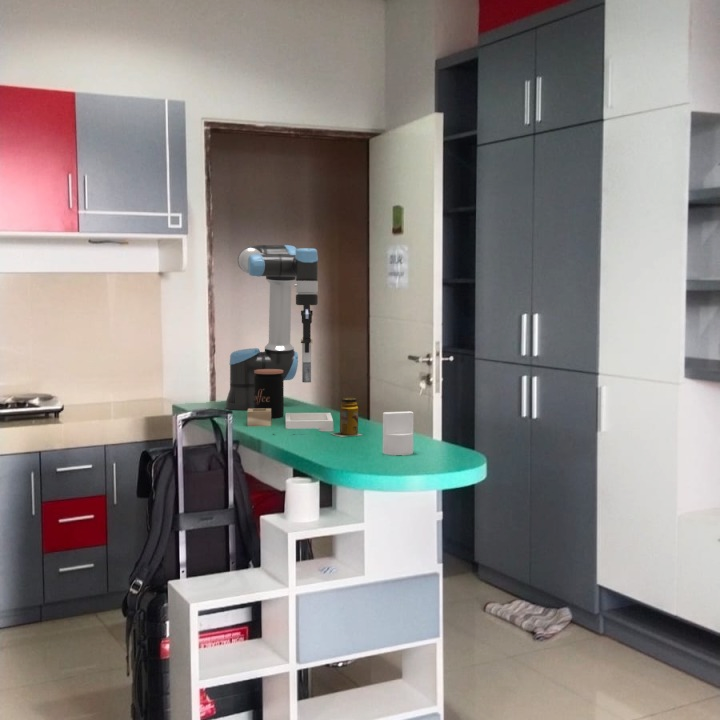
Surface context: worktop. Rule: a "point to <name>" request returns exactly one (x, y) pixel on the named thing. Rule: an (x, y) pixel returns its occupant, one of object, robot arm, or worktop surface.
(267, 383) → the coffee jar
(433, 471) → the worktop surface
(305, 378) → the steel pin
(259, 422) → the block
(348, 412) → the condiment
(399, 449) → the base with upright slab
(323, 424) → the tray
